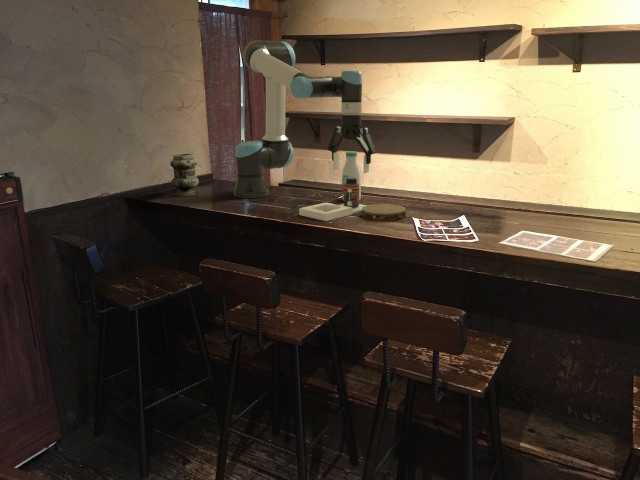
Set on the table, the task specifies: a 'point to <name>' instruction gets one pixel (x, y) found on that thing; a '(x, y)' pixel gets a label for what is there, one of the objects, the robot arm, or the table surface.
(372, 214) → the tambourine
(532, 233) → the table surface
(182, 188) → the apothecary jar
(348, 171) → the milk bottle
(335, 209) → the collar
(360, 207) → the tile
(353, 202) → the supplement bottle
